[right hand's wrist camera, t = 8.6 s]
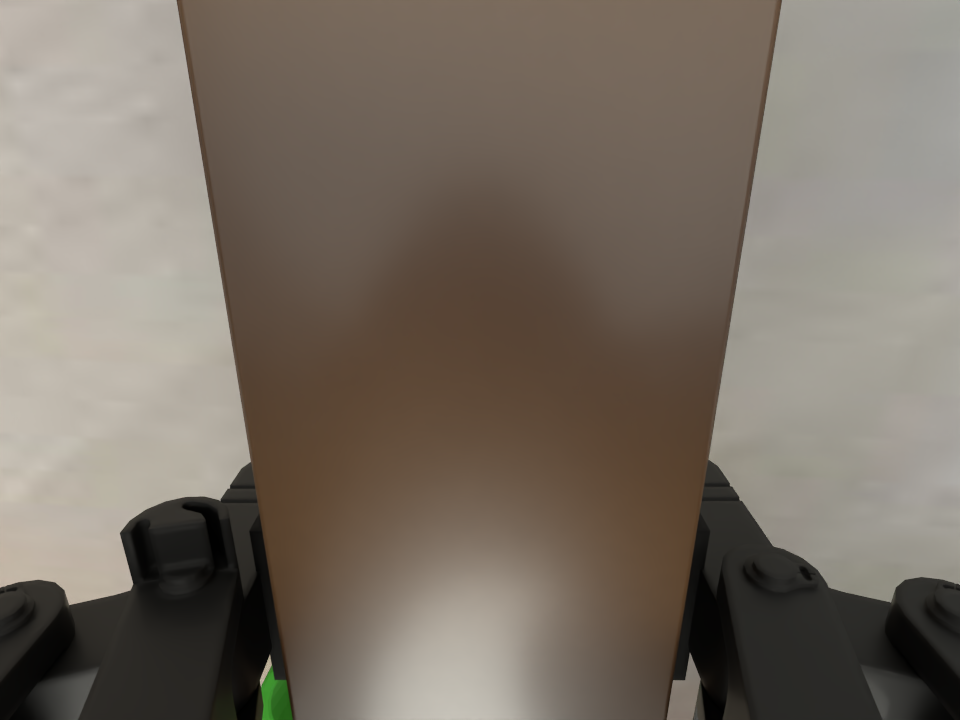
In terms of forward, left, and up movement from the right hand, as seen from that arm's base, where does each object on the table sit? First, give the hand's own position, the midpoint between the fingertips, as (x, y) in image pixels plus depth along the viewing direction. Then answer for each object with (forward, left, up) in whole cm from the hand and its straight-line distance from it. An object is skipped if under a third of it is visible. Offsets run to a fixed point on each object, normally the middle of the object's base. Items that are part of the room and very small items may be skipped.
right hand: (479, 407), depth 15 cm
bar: (+9, +5, -1) cm, 10 cm away
